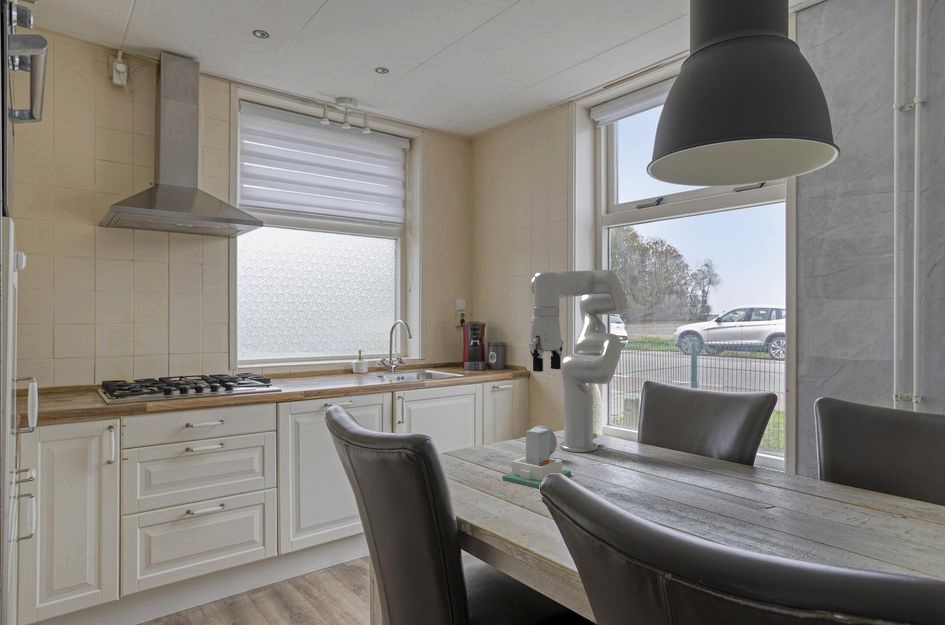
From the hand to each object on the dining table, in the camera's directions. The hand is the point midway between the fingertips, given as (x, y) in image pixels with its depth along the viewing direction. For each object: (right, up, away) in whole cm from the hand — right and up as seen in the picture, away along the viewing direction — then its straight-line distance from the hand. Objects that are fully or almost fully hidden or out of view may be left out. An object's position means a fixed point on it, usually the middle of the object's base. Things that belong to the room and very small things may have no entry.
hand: (547, 370), depth 165 cm
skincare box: (-4, -27, -13) cm, 31 cm away
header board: (-5, -28, -13) cm, 32 cm away
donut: (-1, -29, +8) cm, 30 cm away
